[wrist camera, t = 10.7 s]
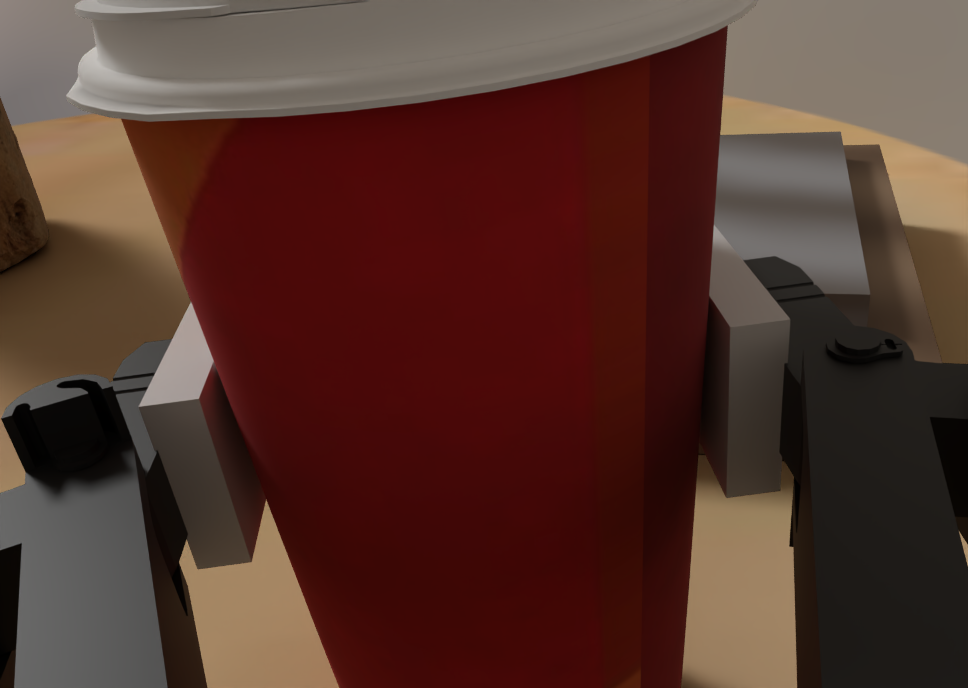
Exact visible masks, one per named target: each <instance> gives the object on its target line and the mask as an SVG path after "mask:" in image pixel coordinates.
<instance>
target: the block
mask: <svg viewBox="0 0 968 688" xmlns="http://www.w3.org/2000/svg"><path fill="white" fill-rule="evenodd" d="M48 238H49V231H48V227H47V223H46V220H45V217H44V213H43V210H42V207H41V204H40V201H39V198H38V196H37V193H36V190H35V188H34V185H33V182H32V179H31V176H30V174H29V172H28V169H27V167H26V164H25V161H24V158H23V156H22V153H21V150H20V148H19V144H18V141H17V137H16V136H15V134H14V132H13V130H12V127H11V124H10V122H9V119H8V117H7V114H6V111H5V109H4V106H3V104H2V101H1V98H0V272H1V271H3V270H5V269H7V268H9V267H10V266H12V265H14V264H16V263H18V262H20V261H22V260H23V259H25V258H26V257H28V256H29V255H31V254H33V253H34V252H36V251H38V250H39V249H41V248H42V247H44V245H45V243H46V241H47V240H48Z"/></svg>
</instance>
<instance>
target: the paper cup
mask: <svg viewBox="0 0 968 688" xmlns="http://www.w3.org/2000/svg"><path fill="white" fill-rule="evenodd" d="M757 1H758V0H81V1H80V2H78V3H77V4H76V5H75V13H76V15H77V16H80V17H83V18H89V19H91V20H92V26H93V31H94V37H95V43H96V47H94V48H93V49H91V50H90V51H89V52H88V53H86V54H85V55H84V56H83V57H82V59H81V61H80V63H79V65H78V75H79V77H78V79H77V81H76V83H75V84H74V86H73V87H72V88H71V90H70V91H69V92H68V94H67V95H66V97H67V100H68V102H69V103H71V104H72V105H74V106H76V107H78V108H79V109H81V110H83V111H87V112H90V113H94V114H98V115H102V116H106V117H111V118H120V119H121V120H122V122H123V125H124V128H125V130H126V133H127V135H128V138H129V141H130V143H131V146H132V149H133V151H134V154H135V156H136V159H137V162H138V164H139V167H140V169H141V172H142V175H143V177H144V180H145V183H146V185H147V188H148V190H149V193H150V196H151V198H152V201H153V203H154V206H155V209H156V211H157V214H158V217H159V219H160V222H161V224H162V227H163V230H164V232H165V235H166V237H167V240H168V243H169V245H170V248H171V251H172V253H173V256H174V258H175V261H176V264H177V266H178V269H179V271H180V274H181V277H182V279H183V282H184V285H185V287H186V290H187V292H188V295H189V298H190V300H191V303H192V305H193V308H194V311H195V313H196V316H197V319H198V321H199V324H200V326H201V329H202V332H203V334H204V337H205V339H206V342H207V345H208V347H209V350H210V353H211V355H212V358H213V360H214V363H215V366H216V368H217V371H218V374H219V376H220V379H221V381H222V384H223V387H224V389H225V392H226V395H227V397H228V400H229V402H230V405H231V408H232V410H233V413H234V416H235V418H236V421H237V423H238V426H239V429H240V431H241V434H242V437H243V439H244V442H245V444H246V447H247V450H248V452H249V455H250V458H251V460H252V463H253V465H254V468H255V471H256V473H257V476H258V479H259V481H260V484H261V486H262V489H263V492H264V494H265V497H266V500H267V502H268V505H269V507H270V510H271V513H272V515H273V518H274V520H275V523H276V526H277V528H278V531H279V533H280V536H281V539H282V541H283V544H284V546H285V549H286V552H287V554H288V557H289V559H290V562H291V565H292V567H293V570H294V572H295V575H296V577H297V580H298V583H299V585H300V588H301V590H302V593H303V596H304V598H305V601H306V603H307V606H308V609H309V611H310V614H311V616H312V619H313V622H314V624H315V627H316V629H317V632H318V635H319V637H320V640H321V642H322V645H323V647H324V650H325V653H326V655H327V658H328V660H329V663H330V665H331V668H332V670H333V673H334V675H335V678H336V681H337V683H338V686H339V688H681V679H682V668H683V655H684V642H685V630H686V617H687V604H688V591H689V578H690V564H691V550H692V536H693V522H694V508H695V494H696V480H697V466H698V452H699V438H700V423H701V408H702V393H703V379H704V364H705V349H706V334H707V320H708V305H709V290H710V275H711V261H712V246H713V231H714V217H715V202H716V188H717V173H718V159H719V144H720V130H721V115H722V101H723V86H724V71H725V57H726V41H727V27H728V25H729V24H731V23H733V22H735V21H737V20H738V19H740V18H742V17H743V16H744V15H745V14H747V13H748V12H749V11H750V10H751V9H752V8H754V7H755V6H756V3H757Z"/></svg>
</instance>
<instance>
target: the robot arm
mask: <svg viewBox="0 0 968 688" xmlns="http://www.w3.org/2000/svg"><path fill="white" fill-rule="evenodd" d="M1 419H2V422H3V424H4V426H5V428H6V430H7V432H8V435H9V437H10V439H11V441H12V443H13V446H14V448H15V450H16V452H17V454H18V456H19V459H20V461H21V463H22V465H23V467H24V469H25V472H26V475H25V484H24V485H22V486H19V487H16V488H14V489H11V490H8V491H5V492H2V493H0V688H207V683H206V678H205V673H204V668H203V663H202V658H201V652H200V647H199V642H198V637H197V632H196V626H195V621H194V616H193V611H192V606H191V600H190V595H189V590H188V585H187V583H186V580H185V578H184V575H183V572H182V570H181V567H180V564H179V560H180V557H181V554H182V551H183V548H184V545H185V542H186V539H187V541H188V544H189V547H190V550H191V552H192V555H193V558H194V561H195V563H196V566H197V569H204V568H211V567H218V566H226V565H233V564H241V563H248V562H252V558H253V553H254V549H255V545H256V540H257V536H258V532H259V527H260V523H261V519H262V514H263V510H264V506H265V501H266V497H265V494H264V492H263V489H262V486H261V484H260V481H259V479H258V476H257V473H256V471H255V468H254V465H253V463H252V460H251V458H250V455H249V452H248V450H247V447H246V444H245V442H244V439H243V437H242V434H241V431H240V429H239V426H238V423H237V421H236V418H235V416H234V413H233V410H232V408H231V405H230V402H229V400H228V397H227V395H226V392H225V389H224V387H223V384H222V381H221V379H220V376H219V374H218V371H217V368H216V366H215V363H214V360H213V358H212V355H211V353H210V350H209V347H208V345H207V342H206V339H205V337H204V334H203V332H202V329H201V326H200V324H199V321H198V319H197V316H196V313H195V311H194V308H193V305H192V303H190V305H189V307H188V309H187V311H186V313H185V315H184V317H183V319H182V321H181V323H180V325H179V327H178V329H177V331H176V333H175V335H174V337H173V339H169V340H161V341H154V342H146V343H144V344H143V345H141V346H140V347H139V348H138V349H137V350H135V351H134V352H133V353H132V354H130V355H129V356H128V357H127V358H125V359H124V360H123V362H122V363H121V365H120V367H119V368H118V370H117V372H116V374H115V375H114V377H113V381H111V382H109V380H108V379H107V378H104V377H101V376H98V375H74V376H69V377H64V378H59V379H56V380H53V381H50V382H47V383H45V384H42V385H39V386H37V387H35V388H33V389H31V390H30V391H28V392H26V393H24V394H22V395H21V396H19V397H18V398H17V399H16V400H14V401H13V402H12V403H11V404H10V405H9V406H8V407H7V408H6V410H5V412H4V414H3V416H2V418H1ZM699 442H700V444H701V446H702V448H703V450H704V452H705V455H706V457H707V459H708V461H709V463H710V465H711V467H712V469H713V471H714V473H715V475H716V477H717V479H718V481H719V484H720V486H721V488H722V490H723V492H724V494H725V496H726V498H730V497H737V496H745V495H752V494H760V493H767V492H775V491H780V483H781V467H782V457H783V459H784V461H785V462H786V464H787V466H788V467H789V469H790V471H791V472H792V474H793V476H794V487H793V501H792V516H791V530H790V545H789V547H794V583H795V620H796V657H797V688H968V566H967V562H966V558H965V554H964V550H963V546H962V542H961V538H960V534H959V531H960V533H961V535H962V536H963V538H964V539H965V541H966V542H967V544H968V364H952V363H933V362H923V361H916V360H915V359H914V355H913V352H912V350H911V349H910V347H909V346H908V344H907V343H906V342H905V341H904V340H902V339H900V338H899V337H897V336H895V335H894V334H892V333H889V332H885V331H882V330H879V329H876V328H870V327H861V326H854V325H853V324H852V323H851V322H850V320H849V319H848V318H847V317H846V316H845V315H844V314H843V313H842V312H841V311H840V310H839V309H838V308H837V307H836V305H835V304H834V303H833V302H832V301H831V300H830V299H829V298H828V297H825V294H824V293H823V291H822V290H821V289H820V288H819V287H818V286H817V285H814V283H813V281H812V280H811V279H810V277H809V276H808V275H807V274H806V273H805V272H804V271H803V270H802V269H801V268H800V267H799V266H796V265H794V264H792V263H790V262H788V261H785V260H783V259H781V258H779V257H777V256H771V257H764V258H756V259H749V260H742V259H741V257H740V256H739V255H738V254H737V252H736V251H735V250H734V249H733V247H732V246H731V245H730V244H729V243H728V241H727V240H726V239H725V238H724V236H723V235H722V234H721V233H720V231H719V230H718V229H717V228H716V226H715V225H714V231H713V246H712V261H711V275H710V290H709V305H708V320H707V334H706V349H705V364H704V379H703V393H702V408H701V423H700V438H699Z"/></svg>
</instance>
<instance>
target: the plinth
mask: <svg viewBox="0 0 968 688" xmlns="http://www.w3.org/2000/svg"><path fill="white" fill-rule="evenodd" d="M714 225H715V226H716V228H717V229H718V230H719V231H720V233H721V234H722V235H723V236H724V238H725V239H726V240H727V241H728V243H729V244H730V245H731V246H732V247H733V249H734V250H735V251H736V252H737V254H738V255H739V256H740V257H741V259H742V260H749V259H756V258H764V257H771V256H777V257H779V258H781V259H783V260H785V261H788V262H790V263H792V264H794V265H796V266H799V267H800V268H801V269H802V270H803V271H804V272H805V273H806V274H807V275H808V276H809V277H810V279H811V280H812V281H813V283H814V285H817V286H818V287H819V288H820V289H821V290H822V291H823V293H824V294H825V297H828V298H829V299H830V300H831V301H832V302H833V303H834V304H835V305H836V307H837V308H838V309H839V310H840V311H841V312H842V313H843V314H844V315H845V316H846V317H847V318H848V319H849V320H850V322H851V323H852V324H853V325H854V326H861V327H870V328H876V329H879V330H882V331H885V332H889V333H892V334H894V335H895V336H897V337H899V338H900V339H902V340H904V341H905V342H906V343H907V344H908V346H909V347H910V349H911V350H912V352H913V355H914V359H915V360H916V361H923V362H933V363H942V360H941V356H940V353H939V349H938V346H937V342H936V339H935V335H934V332H933V328H932V325H931V322H930V318H929V315H928V311H927V308H926V304H925V301H924V297H923V294H922V291H921V287H920V284H919V280H918V277H917V273H916V270H915V266H914V263H913V260H912V256H911V253H910V249H909V246H908V242H907V239H906V235H905V232H904V228H903V225H902V222H901V218H900V215H899V211H898V208H897V204H896V201H895V197H894V194H893V191H892V187H891V184H890V180H889V177H888V173H887V170H886V166H885V163H884V159H883V156H882V153H881V149H880V146H879V145H843V142H842V136H841V132H813V133H778V134H743V135H720V144H719V159H718V173H717V188H716V202H715V217H714ZM698 454H705V452H704V450H703V448H702V446H701V444H700V442H699V452H698ZM782 460H784V459H783V457H782Z"/></svg>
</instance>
